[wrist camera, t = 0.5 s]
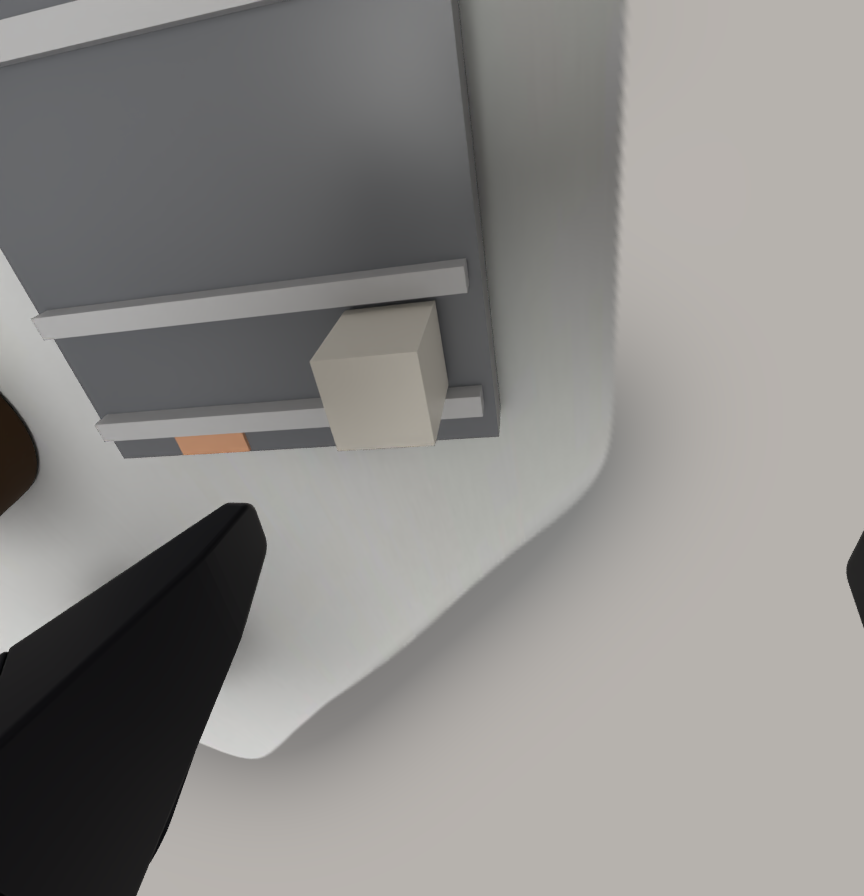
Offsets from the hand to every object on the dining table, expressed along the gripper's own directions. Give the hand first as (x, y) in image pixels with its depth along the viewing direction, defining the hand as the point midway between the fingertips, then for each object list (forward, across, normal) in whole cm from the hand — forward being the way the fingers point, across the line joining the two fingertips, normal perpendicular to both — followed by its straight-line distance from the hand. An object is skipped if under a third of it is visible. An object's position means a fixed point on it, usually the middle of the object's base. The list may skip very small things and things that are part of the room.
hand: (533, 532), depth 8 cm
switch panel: (+13, +10, -4) cm, 16 cm away
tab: (+10, +4, +2) cm, 11 cm away
